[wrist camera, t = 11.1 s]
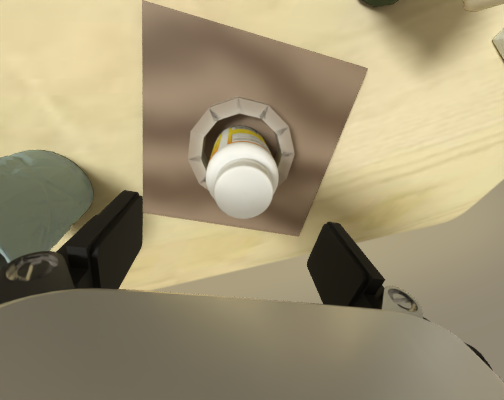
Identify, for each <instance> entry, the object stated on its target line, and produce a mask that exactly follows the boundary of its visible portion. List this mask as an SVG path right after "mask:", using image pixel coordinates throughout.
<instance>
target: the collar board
mask: <svg viewBox="0 0 504 400" xmlns="http://www.w3.org/2000/svg"><path fill="white" fill-rule="evenodd" d="M142 49H143V213H148V214H154V215H161V216H167V217H174V218H181V219H187V220H194V221H200V222H207V223H214V224H220V225H227V226H233V227H240V228H247V229H253V230H260V231H266V232H273V233H279V234H286V235H293V236H299V234H300V232H301V229H302V227H303V225H304V222H305V220H306V217H307V215H308V212H309V210H310V208H311V205H312V203H313V200H314V198H315V195H316V193H317V191H318V188H319V186H320V183H321V181H322V179H323V176H324V174H325V171H326V169H327V166H328V164H329V162H330V159H331V157H332V154H333V152H334V149H335V147H336V145H337V142H338V140H339V137H340V135H341V132H342V130H343V128H344V125H345V123H346V120H347V118H348V115H349V113H350V111H351V108H352V106H353V103H354V101H355V98H356V96H357V94H358V91H359V89H360V86H361V84H362V81H363V79H364V77H365V74H366V72H367V69H368V68H365V67H362V66H359V65H355V64H352V63H349V62H345V61H342V60H339V59H335V58H332V57H329V56H326V55H322V54H319V53H316V52H312V51H309V50H306V49H302V48H299V47H296V46H293V45H289V44H286V43H283V42H279V41H276V40H273V39H269V38H266V37H263V36H259V35H256V34H253V33H250V32H246V31H243V30H240V29H236V28H233V27H230V26H226V25H223V24H220V23H217V22H213V21H210V20H207V19H203V18H200V17H197V16H193V15H190V14H187V13H183V12H180V11H177V10H174V9H170V8H167V7H164V6H160V5H157V4H154V3H150V2H147V1H144V0H142ZM236 125H244V126H248V127H251V128H253V129H254V130H256V131H257V132H258V133H259V134H260V135H261V136H262V138H263V139H264V141H265V143H266V145H267V147H268V149H269V151H270V153H271V155H272V157H273V158H274V160H275V162H276V165H277V168H278V174H279V180H278V185H277V188H276V191H275V193H274V194H273V197H272V201H271V203H270V205H269V206H268V208H267V209H266V210H265V211H264V212H262V213H261V214H259V215H258V216H255V217H252V218H248V219H239V218H234V217H231V216H229V215H227V214H226V213H224V212H223V211H222V210H221V209H220V208H219V207H218V205H217V203H216V201H215V199H214V198H213V197H212V196H211V194H210V192H209V190H208V187H207V184H206V171H207V167H208V163H209V160H210V157H211V154H212V151H213V148H214V144H215V142H216V140H217V138H218V136H219V135H220V134H221V133H222V132H223V131H224V130H225V129H227V128H229V127H232V126H236Z"/></svg>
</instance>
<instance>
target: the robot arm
mask: <svg viewBox="0 0 504 400" xmlns="http://www.w3.org/2000/svg"><path fill="white" fill-rule="evenodd" d="M142 226H143V198H142V196H139V194H138V192H133V191H126V190H124V191H122V192H121V193H120V194H119V195H118V196H117V197H116V198H115V199H114V200H113V201H112V202H111V203H110V204H109V205H108V206H107V207H106V208H105V209H104V210H103V211H102V212H101V213H100V214H99V215H95V216H94V217H93V218H92V219H91V220H89V221H88V222H87V223H86V224H85V225H84V226H83V227H82V228H81V229H80V230H79V231H78V232H77V233H76V234H75V235H74V236H73V237H71V238H70V239H69V240H68V241H67V242H66V243H65V244H64V245H63V246H62V247H61V248H60V249H59V250H58V251H57V252H52V251H39V252H34V253H29V254H26V255H23V256H20V257H18V258H16V259H14V260H12V261H10V262H9V263H8V264H6V265H5V266H4V267H3V268H2V269H1V270H0V400H504V379H502V378H501V377H500V376H499V377H498V376H497V375H496V374H495V373H494V372H493V370H492V368H491V367H490V365H489V364H488V362H487V361H486V360H485V359H484V357H483V356H482V355H481V354H480V353H479V352H478V351H477V350H476V349H475V348H473V347H472V346H470V345H468V344H466V343H464V342H463V341H462V340H460V339H459V338H458V337H457V336H455V335H454V334H453V333H451V332H450V331H448V330H446V329H444V328H443V327H440V326H439V325H437V324H434V323H432V322H430V321H429V320H427V319H426V318H424V317H423V312H422V308H421V306H420V304H419V303H418V302H417V301H416V300H415V298H414V297H412V296H411V295H410V294H409V293H407V292H406V291H404V290H402V289H400V288H398V287H395V286H387V287H385V288H384V287H383V286H382V284H383V282H384V281H385V279H384V278H383V276H382V275H381V274H380V273H379V272H378V270H377V269H376V268H375V267H374V265H373V264H372V263H371V262H370V261H369V259H368V258H367V257H366V255H364V253H363V252H362V251H361V249H360V248H359V247H358V246H357V244H356V243H355V242H354V241H353V239H352V238H351V237H350V236H349V235H348V233H347V232H346V231H345V230H344V228H343V227H342V226H341V225H340V224H339V223H333V222H328V223H327V224H324V225H323V227H322V230H321V232H320V234H319V236H318V239H317V241H316V243H315V245H314V248H313V250H312V252H311V254H310V257H309V259H308V262H307V267H308V270H309V272H310V274H311V276H312V279H313V281H314V283H315V286H316V288H317V291H318V293H319V295H320V297H321V300H322V302H323V304H314V303H303V302H291V301H278V300H265V299H252V298H240V297H239V298H238V297H226V296H212V295H199V294H185V293H171V292H157V291H143V290H126V289H119V287H120V285H121V283H122V281H123V280H124V278H125V276H126V274H127V272H128V271H129V269H130V267H131V265H132V263H133V262H134V260H135V258H136V256H137V254H138V253H139V251H140V249H141V246H142Z"/></svg>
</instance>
